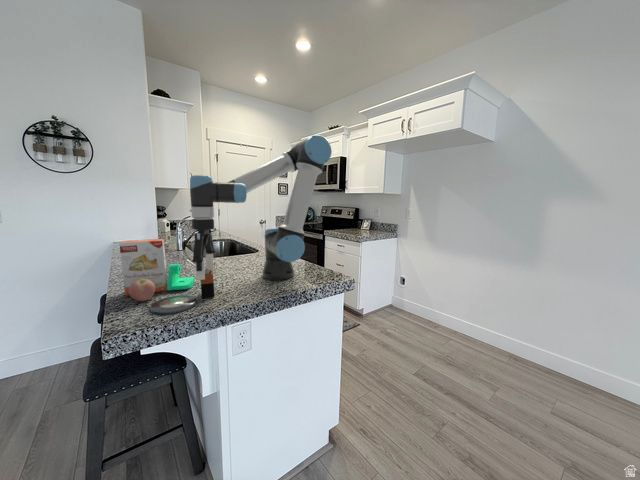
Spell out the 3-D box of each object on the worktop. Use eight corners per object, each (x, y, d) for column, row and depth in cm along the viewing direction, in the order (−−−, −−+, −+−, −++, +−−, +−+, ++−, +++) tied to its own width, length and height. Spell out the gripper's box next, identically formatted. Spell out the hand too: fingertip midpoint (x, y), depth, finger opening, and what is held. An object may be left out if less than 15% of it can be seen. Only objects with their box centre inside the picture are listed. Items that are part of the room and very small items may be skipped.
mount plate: (201, 297, 100) (201, 294, 99) (189, 312, 86) (189, 309, 86) (161, 299, 97) (161, 296, 97) (142, 315, 84) (142, 312, 83)
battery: (201, 299, 98) (199, 273, 96) (202, 293, 104) (200, 268, 103) (214, 297, 100) (212, 271, 98) (214, 291, 106) (212, 267, 104)
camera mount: (188, 291, 107) (186, 266, 105) (167, 293, 105) (165, 267, 103) (195, 282, 118) (193, 260, 117) (176, 283, 116) (174, 261, 115)
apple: (126, 305, 92) (123, 283, 91) (135, 297, 99) (133, 277, 98) (151, 303, 94) (149, 281, 92) (159, 296, 101) (157, 275, 100)
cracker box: (124, 297, 100) (118, 242, 97) (128, 292, 105) (122, 240, 102) (167, 291, 106) (162, 240, 103) (168, 287, 111) (163, 238, 108)
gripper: (201, 216, 109) (203, 266, 112) (180, 221, 84) (183, 284, 88) (220, 216, 110) (222, 266, 113) (204, 221, 86) (207, 283, 89)
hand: (205, 274), depth 100 cm, fingers open, 13 cm apart
